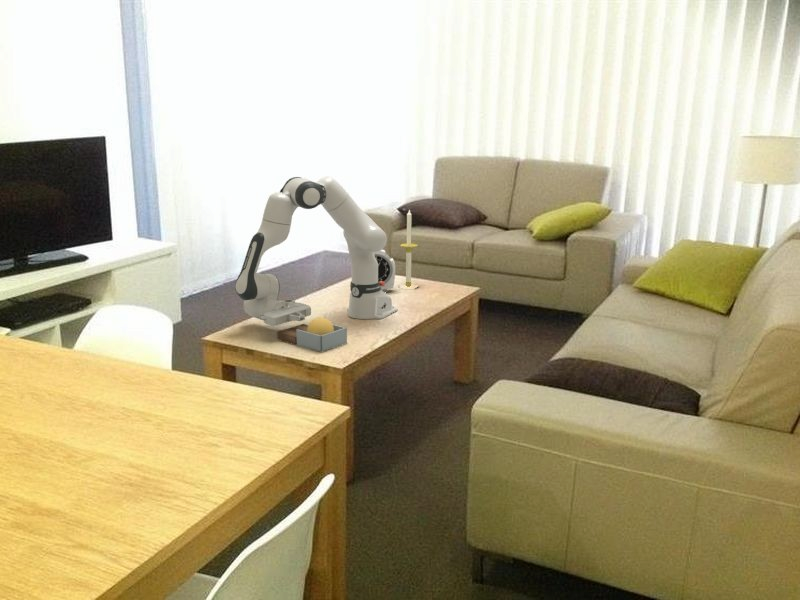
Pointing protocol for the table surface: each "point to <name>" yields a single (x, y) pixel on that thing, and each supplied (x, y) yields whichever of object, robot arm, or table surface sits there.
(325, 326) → the ball
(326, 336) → the tray
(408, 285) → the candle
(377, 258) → the alarm clock
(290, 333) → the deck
